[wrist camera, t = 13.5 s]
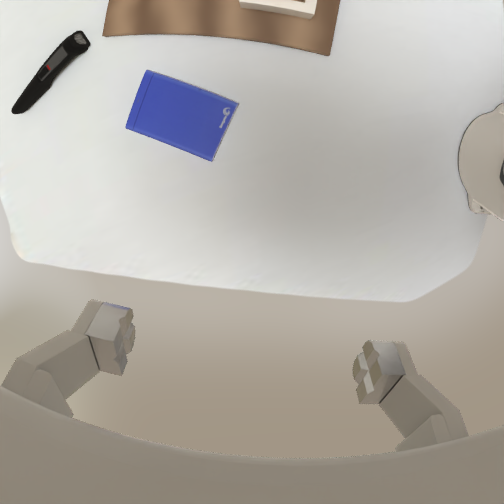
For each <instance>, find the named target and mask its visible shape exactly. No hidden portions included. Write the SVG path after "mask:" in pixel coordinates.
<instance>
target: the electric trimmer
mask: <svg viewBox="0 0 504 504" xmlns="http://www.w3.org/2000/svg"><path fill="white" fill-rule="evenodd" d="M89 45H90V42H89V40H88V39H87V37H86V36H85V34H84V33H83V32H82V31H76V32H75V33H73V34H72V35H70V36H68V37H67V38H66V39H65V40H64V41H63V42H62V43H61V44H60V45H59V46H58V47H57V48H56V50H55V51H54V52H53V53H52V54H51V55H50V57H49V58H48V59H47V60H46V61H45V63H44V64H43V65H42V66H41V68H40V69H39V70H38V72H37V73H36V75H35V76H34V78H33V79H32V80H31V82H30V83H29V84H28V86H27V87H26V88H25V90H24V91H23V93H22V94H21V96H20V97H19V98H18V100H17V101H16V103H15V104H14V106H13V108H12V113H13V114H20V113H24V112H25V111H26V110H27V109H28V108H29V107H30V106H31V105H32V104H33V103H34V102H35V101H36V100H37V99H38V98H39V97H40V96H42V95H43V94H44V93H45V92H46V91H47V90H48V89H49V88H50V85H51V81H52V79H53V78H54V77H55V76H56V75H57V74H58V73H59V72H60V71H61V70H62V69H63V67H64V66H65V65H66V64H67V63H68V62H69V61H70V60H71V59H72V58H73V57H74V56H76V55H78V54H81V53H83V52H85V51H86V50H87V49H88V46H89Z"/></svg>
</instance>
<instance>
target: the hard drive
mask: <svg viewBox="0 0 504 504" xmlns="http://www.w3.org/2000/svg"><path fill="white" fill-rule="evenodd" d="M238 104H239V103H238V102H235V101H233V100H231V99H228V98H226V97H223V96H221V95H218V94H216V93H213V92H211V91H208V90H205V89H203V88H200V87H197V86H195V85H192V84H189V83H186V82H184V81H181V80H178V79H175V78H172V77H169V76H166V75H163V74H160V73H157V72H154V71H150V70H146V72H145V74H144V76H143V79H142V81H141V84H140V87H139V89H138V92H137V95H136V97H135V100H134V103H133V106H132V109H131V112H130V114H129V118H128V120H127V124H126V129H129V130H132V131H134V132H137V133H140V134H143V135H145V136H148V137H151V138H153V139H156V140H158V141H161V142H164V143H166V144H169V145H171V146H174V147H176V148H179V149H181V150H184V151H186V152H189V153H191V154H194V155H196V156H199V157H201V158H203V159H206V160H208V161H211V162H212V161H213V159H214V156H215V154H216V152H217V150H218V147H219V145H220V143H221V141H222V139H223V136H224V134H225V132H226V130H227V128H228V125H229V123H230V121H231V119H232V117H233V115H234V113H235V111H236V109H237V106H238Z"/></svg>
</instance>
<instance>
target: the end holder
mask: <svg viewBox="0 0 504 504" xmlns="http://www.w3.org/2000/svg"><path fill="white" fill-rule="evenodd" d="M239 3H240V7H241V8H248V9H255V10H262V11H269V12H275V13H281V14H286V15H291V16H296V17H301V18H305V19H311V18H312V17H313V16H314V14H315V9H316V4H317V0H303V2H299V1H294V0H239Z"/></svg>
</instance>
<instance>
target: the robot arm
mask: <svg viewBox="0 0 504 504" xmlns="http://www.w3.org/2000/svg"><path fill="white" fill-rule="evenodd" d="M459 172H460V177H461V180H462V183H463V185H464V187H465V189H466V191H467V193H468V201H469V208H470V210H471V211H473V212H474V213H479V214H492V215H494V216H496V217H497V218H498V219H500V220H501V221H503V222H504V103H502V104H500V105H499V106H498V107H497V108H496V109H495V110H494V111H493V112H490V113H486V114H483V115H481V116H479V117H478V118H476V119H475V120H474V121H473V122H472V123H471V124H470V126H469V127H468V129H467V130H466V132H465V134H464V136H463V139H462V142H461V146H460V151H459ZM480 206H481V207H480ZM132 319H133V311H132V309H131V308H127V307H123V306H119V305H115V304H110V303H107V302H101V301H98V300H94V299H91V300H90V301H89V302H88V303H87V305H86V306H85V308H84V310H83V311H82V313H81V315H80V316H79V318H78V320H77V321H76V323H75V325H74V327H73V328H72V330H71V331H69V330H67V331H65V332H63V333H61V334H59V335H57V336H56V337H54V338H52V339H50V340H48V341H47V342H45V343H43V344H41V345H39V346H38V347H36V348H34V349H33V350H31V351H29V352H27V353H25V354H24V355H22V356H20V357H18V358H17V359H16V360H15V362H14V364H13V366H12V367H11V369H10V371H9V372H8V374H7V376H6V378H5V380H4V381H3V383H2V385H1V386H0V504H504V425H502V426H499V427H496V428H493V429H490V430H487V431H484V432H481V433H477V434H474V435H471V436H469V435H468V432H467V430H466V427H465V424H464V421H463V418H462V416H461V413H460V410H459V409H458V408H457V407H456V406H454V405H453V404H452V403H451V402H450V401H449V400H448V399H447V398H446V397H445V396H444V395H443V394H442V393H440V392H439V391H438V390H437V389H436V388H435V387H434V386H433V385H432V384H431V383H430V382H428V381H427V380H426V379H425V378H424V377H423V376H422V375H418V374H417V371H416V368H415V366H414V363H413V361H412V358H411V356H410V353H409V351H408V349H407V346H406V344H405V343H404V342H396V341H392V342H391V341H371V340H368V341H367V342H365V344H364V346H363V352H362V353H360V354H359V355H357V357H356V359H355V361H354V365H353V377H354V380H355V381H356V382H357V383H358V384H359V385H358V387H357V389H356V391H357V395H358V399H359V404H379V406H380V407H381V408H382V409H383V411H384V412H385V413H386V415H387V416H388V417H389V418H390V419H391V421H392V422H393V423H394V425H395V426H396V427H397V428H398V430H399V431H400V432H401V434H402V435H403V436H404V438H405V439H404V440H403V441H402V442H401V443H400V444H398V445H397V447H396V448H395V449H396V452H389V453H382V454H373V455H363V456H353V457H352V456H351V457H338V458H337V457H336V458H269V457H252V456H241V455H231V454H222V453H214V452H207V451H200V450H193V449H187V448H182V447H176V446H171V445H166V444H161V443H157V442H152V441H148V440H144V439H140V438H136V437H132V436H128V435H124V434H121V433H117V432H114V431H111V430H107V429H104V428H100V427H98V426H94V425H91V424H88V423H85V422H83V421H80V420H77V419H74V418H72V417H73V412H72V410H71V409H70V407H69V405H68V404H67V402H66V399H67V398H68V397H69V396H71V395H72V394H73V393H74V392H76V391H77V390H78V389H79V388H81V387H82V386H83V385H84V384H85V383H86V382H88V381H89V380H90V379H92V378H93V377H94V376H95V375H96V374H98V373H99V371H103V372H107V373H111V374H115V375H120V376H122V374H123V372H124V369H125V366H126V364H127V357H126V354H128V353H130V352H131V351H132V348H133V345H134V340H135V326H134V325H133V323H131V321H132Z"/></svg>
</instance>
